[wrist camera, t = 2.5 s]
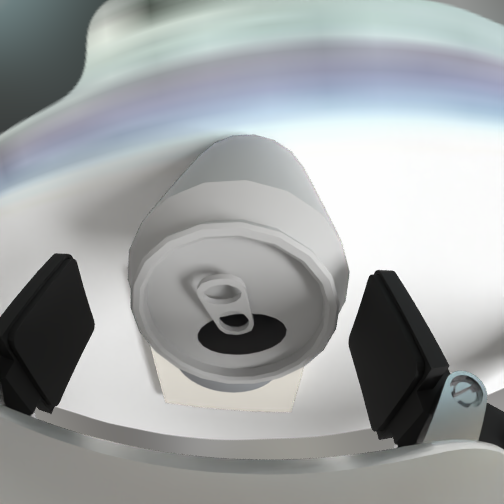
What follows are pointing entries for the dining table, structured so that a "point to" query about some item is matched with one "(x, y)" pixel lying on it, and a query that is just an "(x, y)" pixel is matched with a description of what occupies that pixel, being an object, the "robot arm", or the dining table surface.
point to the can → (239, 266)
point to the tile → (225, 390)
